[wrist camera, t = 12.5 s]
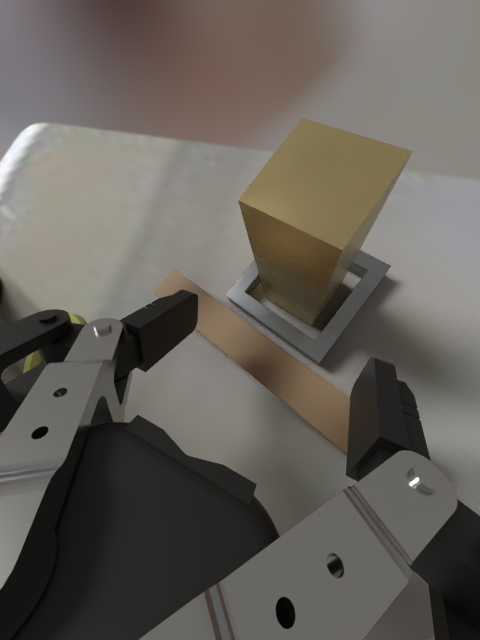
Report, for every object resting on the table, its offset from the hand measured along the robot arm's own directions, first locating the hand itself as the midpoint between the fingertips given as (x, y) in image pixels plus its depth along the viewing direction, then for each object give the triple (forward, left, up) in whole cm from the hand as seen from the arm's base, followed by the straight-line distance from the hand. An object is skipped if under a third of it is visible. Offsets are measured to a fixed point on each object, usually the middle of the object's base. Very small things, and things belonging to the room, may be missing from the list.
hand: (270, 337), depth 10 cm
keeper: (-1, +5, -6) cm, 8 cm away
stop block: (-1, +5, -6) cm, 8 cm away
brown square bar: (0, -1, -6) cm, 6 cm away
